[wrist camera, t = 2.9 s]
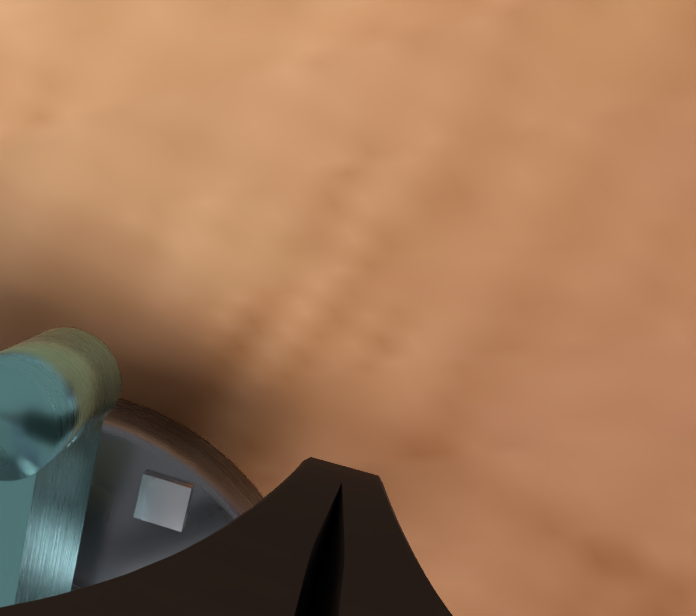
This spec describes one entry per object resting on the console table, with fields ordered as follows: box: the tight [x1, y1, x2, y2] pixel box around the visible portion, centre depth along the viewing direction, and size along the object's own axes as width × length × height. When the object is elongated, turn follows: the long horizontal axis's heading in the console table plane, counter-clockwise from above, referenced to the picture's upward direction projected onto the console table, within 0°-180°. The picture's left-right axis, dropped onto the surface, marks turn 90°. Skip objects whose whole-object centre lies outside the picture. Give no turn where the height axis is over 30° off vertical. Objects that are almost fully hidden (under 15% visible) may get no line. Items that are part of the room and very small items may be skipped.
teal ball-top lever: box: [0, 327, 121, 607], centre depth 11 cm, size 10×4×4 cm, turn 164°
